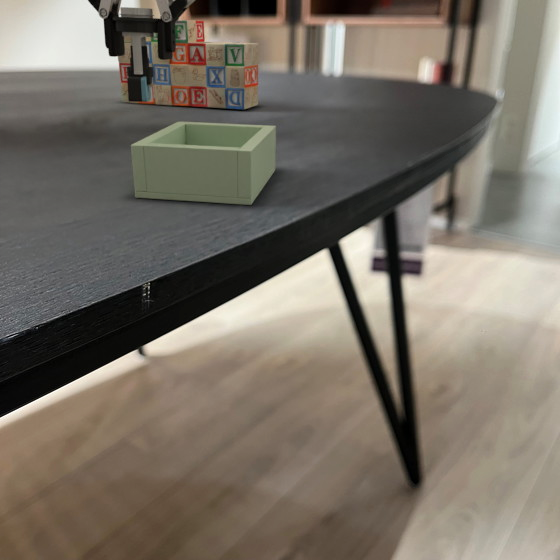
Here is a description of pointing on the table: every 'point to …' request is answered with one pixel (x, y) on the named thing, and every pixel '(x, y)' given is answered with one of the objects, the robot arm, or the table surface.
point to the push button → (138, 50)
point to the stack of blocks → (199, 71)
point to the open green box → (205, 162)
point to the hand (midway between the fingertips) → (141, 55)
